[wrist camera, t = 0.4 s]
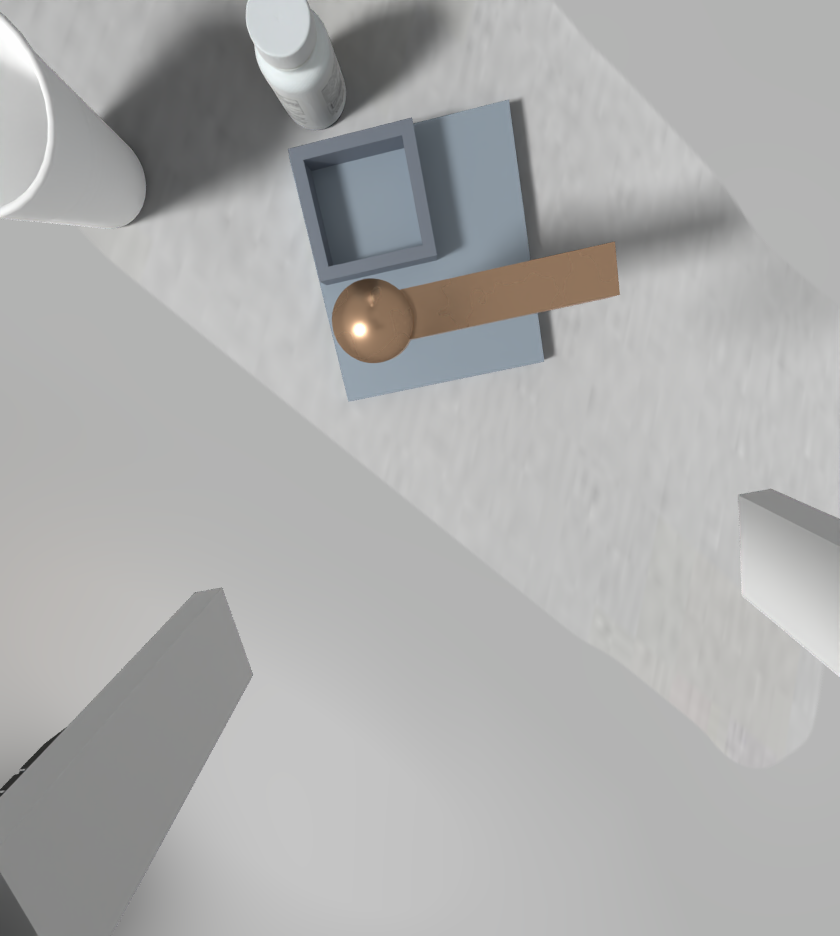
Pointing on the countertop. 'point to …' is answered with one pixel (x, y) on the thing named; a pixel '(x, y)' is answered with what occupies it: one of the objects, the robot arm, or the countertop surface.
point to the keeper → (467, 300)
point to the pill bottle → (297, 60)
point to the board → (420, 233)
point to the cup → (58, 148)
